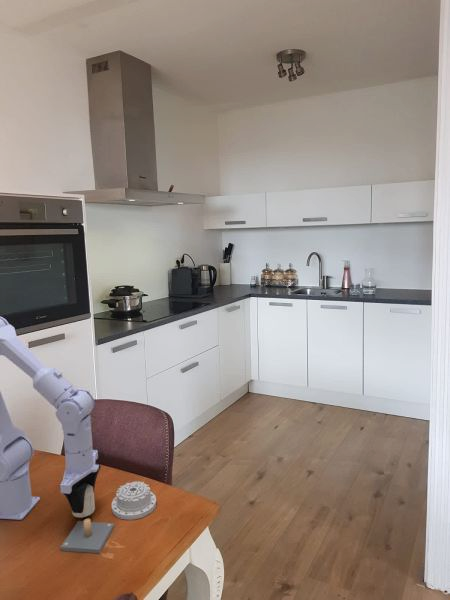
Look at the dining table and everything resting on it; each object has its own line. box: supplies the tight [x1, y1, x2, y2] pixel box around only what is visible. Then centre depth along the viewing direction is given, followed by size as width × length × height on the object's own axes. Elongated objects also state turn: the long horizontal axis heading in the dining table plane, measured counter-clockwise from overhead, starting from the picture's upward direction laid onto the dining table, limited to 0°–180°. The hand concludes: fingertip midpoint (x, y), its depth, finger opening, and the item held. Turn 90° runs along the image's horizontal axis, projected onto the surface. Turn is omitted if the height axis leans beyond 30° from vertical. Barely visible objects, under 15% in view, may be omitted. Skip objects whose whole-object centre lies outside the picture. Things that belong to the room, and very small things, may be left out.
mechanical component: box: [111, 480, 157, 521], centre depth 105 cm, size 10×4×10 cm
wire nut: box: [71, 484, 96, 518], centre depth 102 cm, size 5×5×5 cm
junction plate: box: [60, 517, 115, 554], centre depth 95 cm, size 8×8×4 cm
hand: (83, 504), depth 102 cm, fingers closed on wire nut, 5 cm apart
